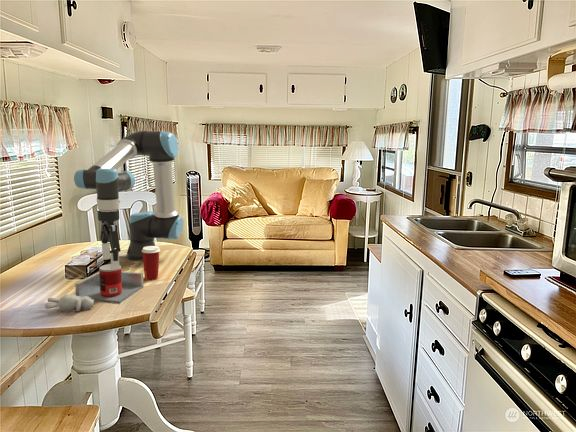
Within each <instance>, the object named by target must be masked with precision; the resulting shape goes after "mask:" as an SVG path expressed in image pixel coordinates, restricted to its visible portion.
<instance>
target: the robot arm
mask: <svg viewBox="0 0 576 432" xmlns="http://www.w3.org/2000/svg"><path fill="white" fill-rule="evenodd" d="M178 153H179V143H178V140H177V138H176V136H175V134H174V133H172V132H168V131H162V130H161V131H159V130H158V131H157V130H156V131H155V130H154V131H153V130H139V131H135V132H133V133H130V134H128V135H126V136H124V137H123V138H122V139H119V141H118V142H117V144H116V146H115V147H114V148H112V149H111V150H109V152H108V153H106V154H105V155H103V156H102V158H100V159H99V160H98V161H96V162H95V163H94V164H93V165H91V166H90V167H89V168H88V169H77V170H76V171H75V172H74V175H73V181H74V185H75V186H76V187H77V188H80V189H85V190H96V206H97V207H96V209H97V220H98V221H99V222H101V226H100V227H101V228H100V238H99V240H100V241H101V253H102V261H103V260H110V264H111V269H119V265H120V252H121V247H120V246H121V245H120V240H119V233H118V225H117V224H115V221H119V220H120V210H119V208H120V203H121V200H120V199H119V198H120V197H119V193H120V192H123V191H128V190H130V189H132V188H133V187H134V186H135V184H136V177H135V175H134V174H133V173H132V172H130V171H127V170H121V171H118V169H120V167H122V166H123V165H124V164H126V162H128V161H129V160H131V159H134V158H136V157H138V156H143V157H144V156H145V157H148V159H149V160H148V161H149V162H150V163H151V164H152V167H153V176H154V177H153V178H154V189H155V190H154V191H155V198H156V199H155V200H156V209H157V210H156V211H155V212H154V211H141V212H135V213H132V214H131V215H129V223H128V224H129V246H128V247H127V248H128V249H127V251H126V258H127V259H128V260H131V261H143V252H142V250H143V248H144V247H146V246H156V243H155V239H161V240H163V239H164V240H177V239H179V237H180V236H181V234H182V232H183V230H184V229H183V228H184V219H183V217H182V216H180V215H179V211H178V210H177V209H176V204H175V194H174V193H175V191H174V190H175V189H174V180H173V178H174V177H173V165H172V163H173V162H174V161H175V158H176V157H177V156H178V155H179V154H178Z"/></svg>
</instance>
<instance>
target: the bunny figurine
mask: <svg viewBox="0 0 576 432" xmlns="http://www.w3.org/2000/svg"><path fill="white" fill-rule="evenodd" d="M47 302H48V303H46V304H45V305H44V308H45V310H51V309H54V308H59V309H60V310H61V311H62V312H64V313H65V312H66V313H67V312H68V313H69V312H74V311H76V312H79V311H87V310H90V309H91V308H93V307H94V303H95V301H94V299H91V298H90V297H89V296H83V297H82V296H76V294H69V293H68V294H64V295H63V296H61V297H60V298H56V297H55V298H54V297H49V298H47Z"/></svg>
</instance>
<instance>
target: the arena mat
mask: <svg viewBox="0 0 576 432" xmlns="http://www.w3.org/2000/svg"><path fill="white" fill-rule="evenodd" d="M143 288H144V285H143V286H142V287H141V286H131V285H122V292H121V294H120V295H118V296H114V297H103V296H101V294H100V286H98V287H96V288H95V289H93V290H91V291H89V292H87V293H86V294H84V295H82V297H83V296H89V297H90V298H91V299H94V302H95V301H96V302H105V303H114V304H121V303H123V302H124V301H125V300H127V299H129V297H131V296H133V295H134V294H135V293H137V292H138V291H140V290H141V289H143Z"/></svg>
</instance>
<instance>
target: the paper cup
mask: <svg viewBox="0 0 576 432" xmlns="http://www.w3.org/2000/svg"><path fill="white" fill-rule="evenodd" d="M142 252H143V260H142V262H143V277H144V280H146V281H157V280H158V279H159V270H160V269H159V267H160V265H159V264H160V252H161V249H160V247H159V246H156V245H155V246H146V247H144V248H143V250H142Z"/></svg>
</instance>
